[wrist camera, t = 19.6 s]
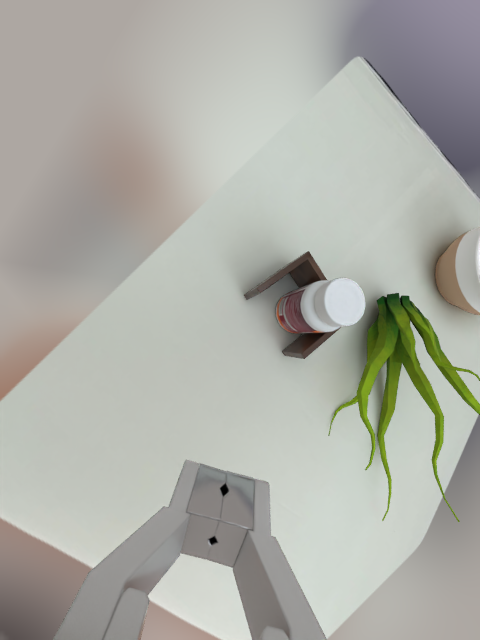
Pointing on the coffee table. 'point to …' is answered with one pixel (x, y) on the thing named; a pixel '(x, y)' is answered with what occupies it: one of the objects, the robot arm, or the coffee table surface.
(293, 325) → the pill bottle
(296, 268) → the u-shaped stand
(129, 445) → the coffee table surface
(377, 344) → the decorative plant
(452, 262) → the bowl
